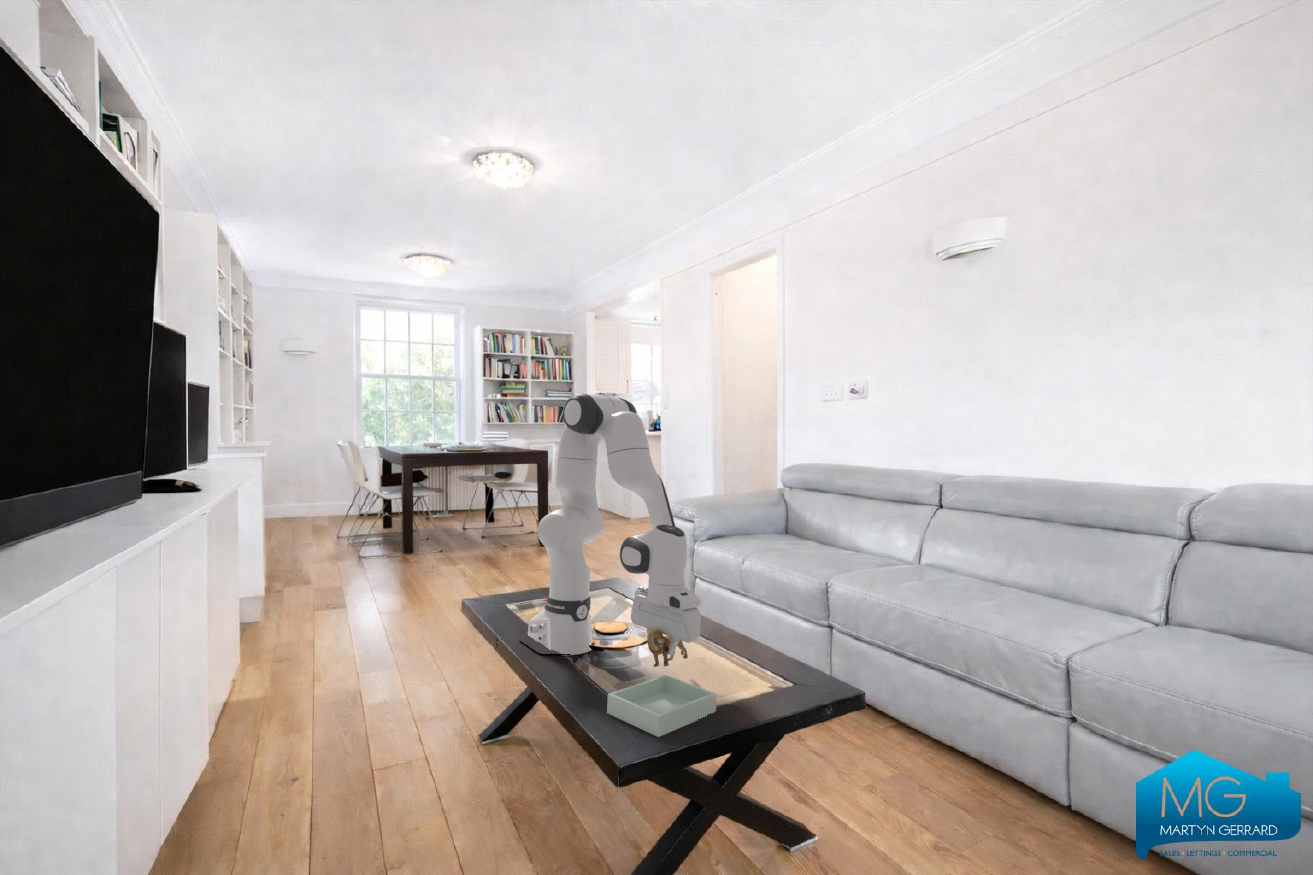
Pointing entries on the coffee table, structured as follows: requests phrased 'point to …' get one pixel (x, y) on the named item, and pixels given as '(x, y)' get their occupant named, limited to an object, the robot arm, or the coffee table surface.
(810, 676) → the coffee table surface
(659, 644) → the lion figurine
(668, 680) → the box
